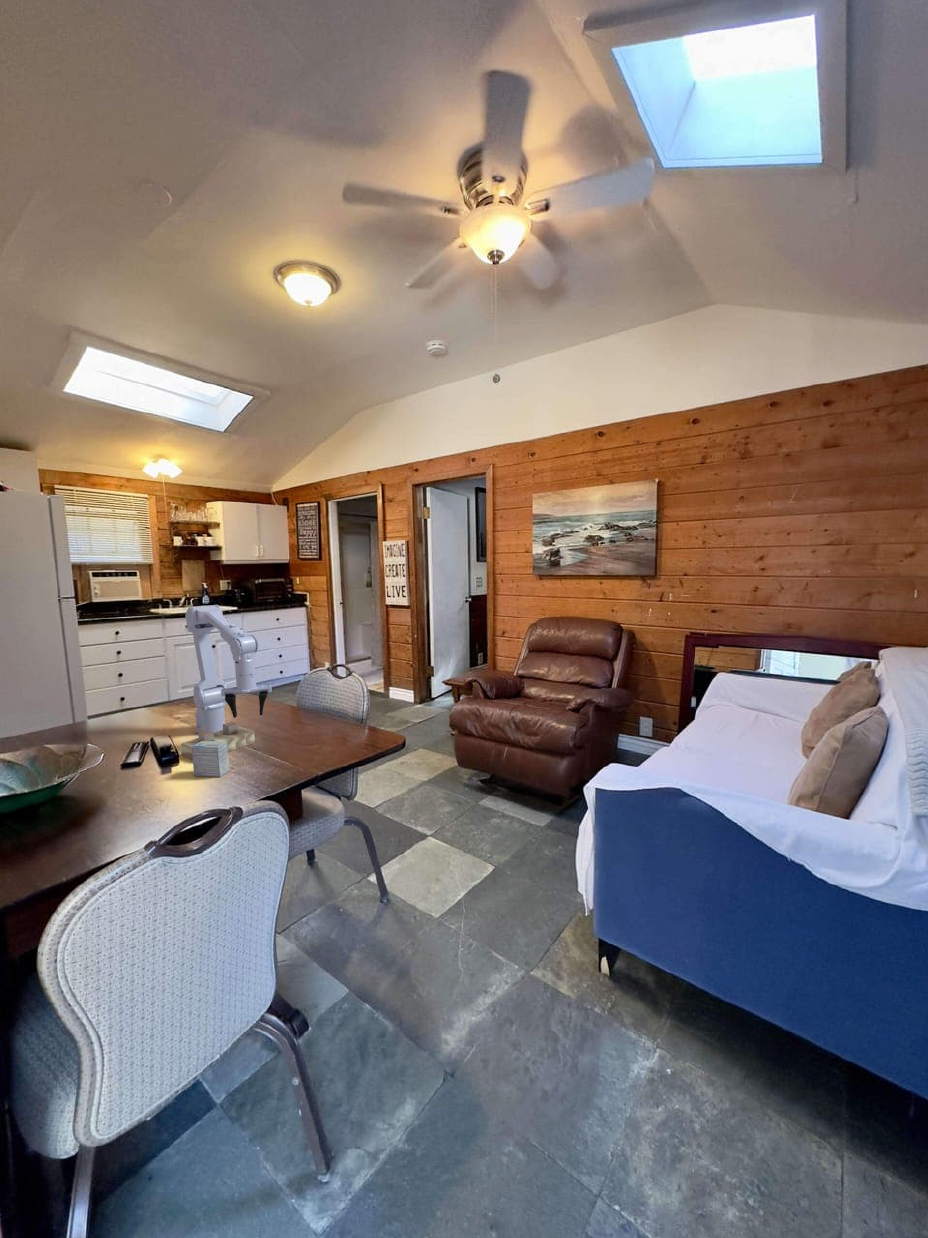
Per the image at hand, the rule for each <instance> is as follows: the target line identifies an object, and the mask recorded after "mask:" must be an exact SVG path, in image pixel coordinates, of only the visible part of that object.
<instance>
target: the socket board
mask: <svg viewBox="0 0 928 1238" xmlns="http://www.w3.org/2000/svg"><path fill="white" fill-rule="evenodd" d="M237 731H238V733H235V734H232V735H225V734H223V730H220V731H217V732H214V741H222V742H227V748H228V753H230V752H233V751H235V750H238V749H241V748H243V747H246V746H249V745H252V744H254V743H255V742H256V738H255V730H254V729H249V728H245V727H241V726H238V725H237ZM197 743H199V737H197V738H192V739H190V740H187V741H184V742H181V743H180V748H181V756H182V757H183V758H187V759H189V760H192V761H193V758H192V746H194V745H195V744H197Z"/></svg>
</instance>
